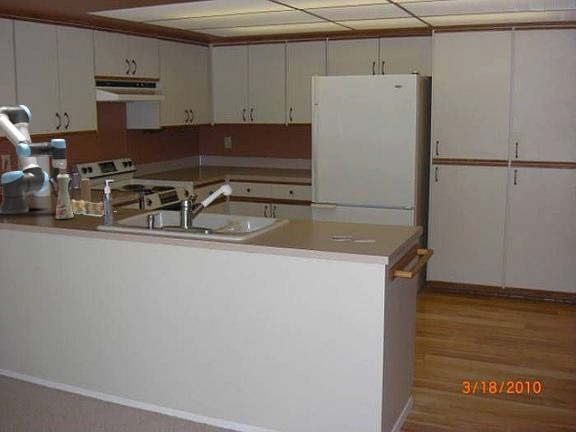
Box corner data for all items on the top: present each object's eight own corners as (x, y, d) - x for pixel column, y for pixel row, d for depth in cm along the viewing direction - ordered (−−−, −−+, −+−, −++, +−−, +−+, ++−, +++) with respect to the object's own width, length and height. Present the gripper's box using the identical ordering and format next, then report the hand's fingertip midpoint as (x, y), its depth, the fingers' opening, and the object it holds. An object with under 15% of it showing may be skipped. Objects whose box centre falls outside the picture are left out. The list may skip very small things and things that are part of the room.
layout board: (100, 216, 380) (100, 216, 380) (67, 213, 395) (67, 212, 395) (124, 213, 394) (124, 212, 393) (91, 209, 409) (91, 208, 409)
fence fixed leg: (104, 215, 383) (104, 202, 382) (102, 216, 381) (101, 202, 380) (87, 214, 391) (87, 200, 390) (85, 214, 389) (84, 201, 388)
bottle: (73, 219, 372) (70, 167, 368) (55, 220, 369) (52, 167, 365) (73, 217, 380) (71, 165, 376) (56, 217, 377) (53, 166, 373)
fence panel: (87, 212, 391) (86, 200, 390) (85, 212, 390) (84, 200, 389) (73, 211, 397) (72, 199, 396) (71, 211, 396) (70, 199, 395)
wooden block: (74, 210, 409) (72, 179, 406) (75, 209, 413) (74, 178, 410) (90, 209, 410) (88, 179, 407) (91, 208, 414) (89, 178, 412)
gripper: (47, 167, 383) (50, 210, 387) (72, 167, 387) (74, 208, 391) (47, 166, 390) (49, 208, 394) (71, 166, 394) (73, 207, 398)
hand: (62, 208), depth 392 cm, fingers closed
